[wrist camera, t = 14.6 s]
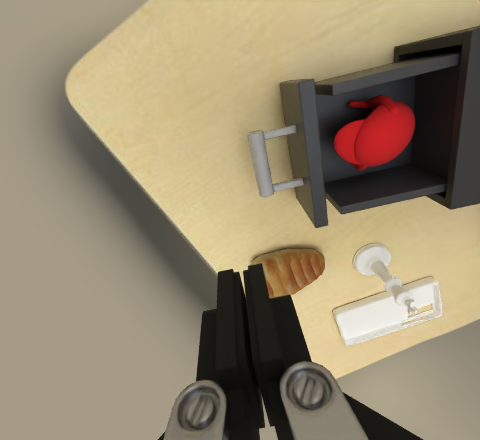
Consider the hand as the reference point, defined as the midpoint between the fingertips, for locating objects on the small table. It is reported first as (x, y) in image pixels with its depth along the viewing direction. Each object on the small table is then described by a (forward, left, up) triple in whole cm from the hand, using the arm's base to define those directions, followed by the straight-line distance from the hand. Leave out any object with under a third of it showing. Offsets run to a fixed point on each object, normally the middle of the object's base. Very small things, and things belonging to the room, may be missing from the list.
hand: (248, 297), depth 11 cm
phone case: (+28, +17, -23) cm, 40 cm away
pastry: (+16, +3, -23) cm, 28 cm away
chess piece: (+18, +15, -23) cm, 33 cm away
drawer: (0, +11, -22) cm, 25 cm away
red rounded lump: (0, +13, -21) cm, 25 cm away
